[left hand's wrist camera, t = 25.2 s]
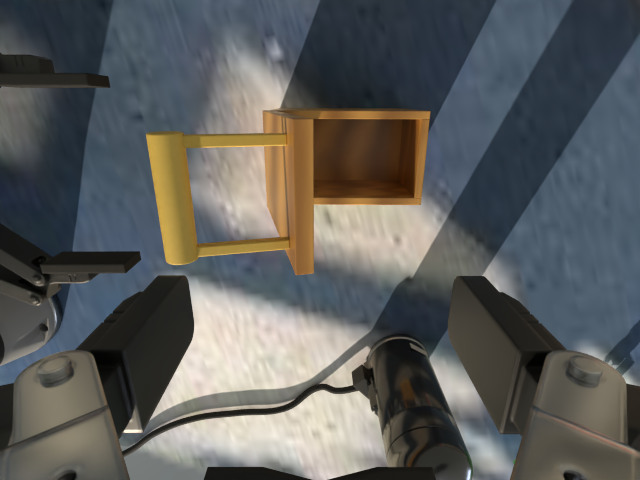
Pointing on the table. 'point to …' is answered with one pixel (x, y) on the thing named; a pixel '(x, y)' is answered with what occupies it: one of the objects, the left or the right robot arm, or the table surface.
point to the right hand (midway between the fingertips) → (118, 178)
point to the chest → (367, 154)
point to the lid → (281, 186)
